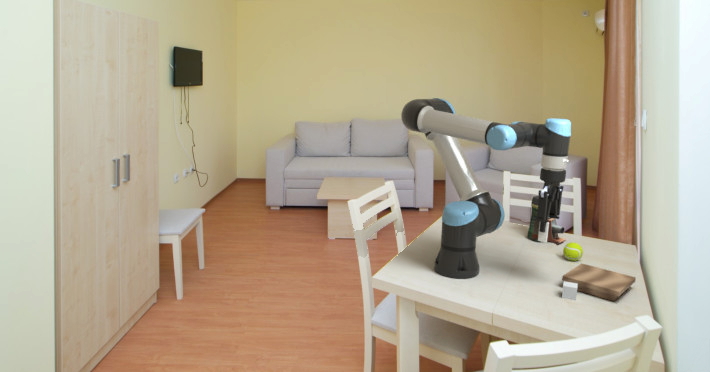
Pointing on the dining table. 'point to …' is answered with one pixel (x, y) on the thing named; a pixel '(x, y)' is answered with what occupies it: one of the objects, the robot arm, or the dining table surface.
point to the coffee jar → (533, 216)
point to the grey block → (569, 290)
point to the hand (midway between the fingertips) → (545, 239)
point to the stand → (599, 281)
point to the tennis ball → (573, 251)
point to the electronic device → (549, 231)
